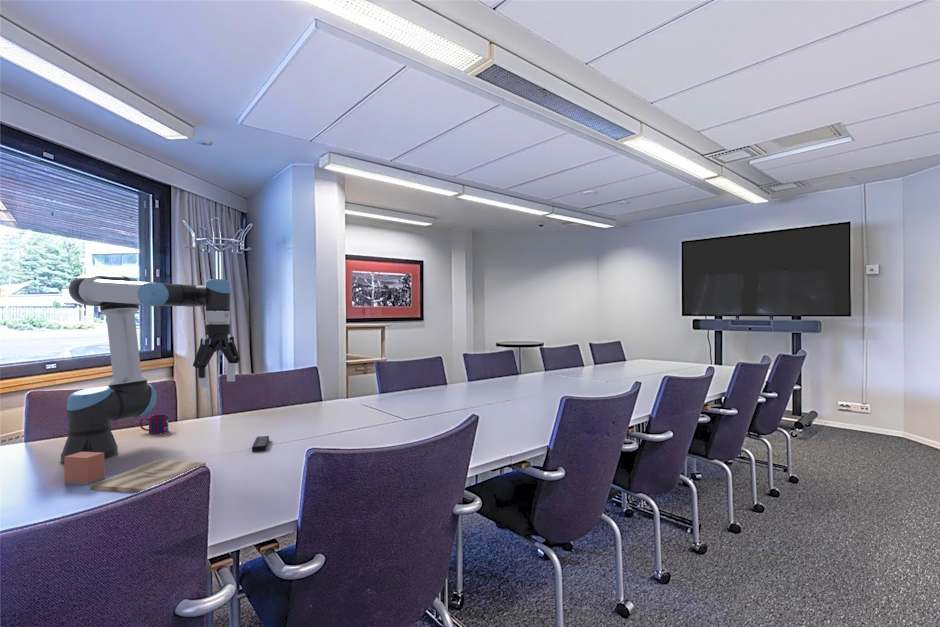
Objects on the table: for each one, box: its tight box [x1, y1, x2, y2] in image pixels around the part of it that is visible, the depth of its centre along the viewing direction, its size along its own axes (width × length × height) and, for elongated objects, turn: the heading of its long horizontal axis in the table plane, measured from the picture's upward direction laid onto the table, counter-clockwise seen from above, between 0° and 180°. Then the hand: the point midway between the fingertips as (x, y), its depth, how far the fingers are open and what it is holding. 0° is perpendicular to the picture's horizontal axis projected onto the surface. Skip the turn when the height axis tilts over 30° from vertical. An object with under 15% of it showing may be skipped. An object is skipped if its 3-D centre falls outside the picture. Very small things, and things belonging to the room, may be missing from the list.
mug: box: [139, 414, 169, 435], centre depth 187 cm, size 7×10×7 cm
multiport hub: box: [251, 435, 270, 453], centre depth 166 cm, size 4×14×2 cm, turn 19°
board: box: [90, 459, 207, 494], centre depth 135 cm, size 18×22×1 cm
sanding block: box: [63, 452, 105, 486], centre depth 132 cm, size 8×5×8 cm, turn 80°
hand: (217, 384), depth 155 cm, fingers open, 13 cm apart
